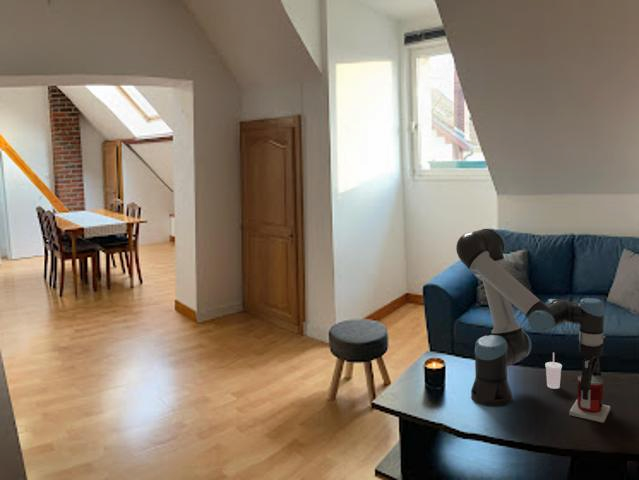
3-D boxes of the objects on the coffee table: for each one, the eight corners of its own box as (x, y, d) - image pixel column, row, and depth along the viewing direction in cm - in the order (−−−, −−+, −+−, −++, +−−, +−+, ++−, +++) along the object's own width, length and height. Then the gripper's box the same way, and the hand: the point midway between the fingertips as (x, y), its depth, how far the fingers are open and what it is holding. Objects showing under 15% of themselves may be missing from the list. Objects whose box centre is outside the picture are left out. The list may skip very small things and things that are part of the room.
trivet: (569, 415, 193) (569, 410, 193) (576, 402, 201) (576, 398, 201) (603, 422, 186) (603, 418, 186) (610, 409, 195) (610, 405, 194)
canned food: (605, 413, 189) (605, 383, 187) (580, 412, 191) (580, 383, 189) (598, 403, 196) (599, 374, 195) (574, 402, 198) (575, 374, 196)
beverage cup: (542, 383, 220) (543, 350, 217) (558, 382, 219) (558, 349, 217) (547, 389, 214) (548, 355, 211) (564, 389, 213) (564, 355, 211)
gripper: (595, 356, 178) (594, 416, 181) (609, 333, 197) (608, 388, 201) (570, 352, 182) (569, 411, 186) (587, 330, 202) (586, 384, 205)
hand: (589, 399), depth 193 cm, fingers open, 13 cm apart
